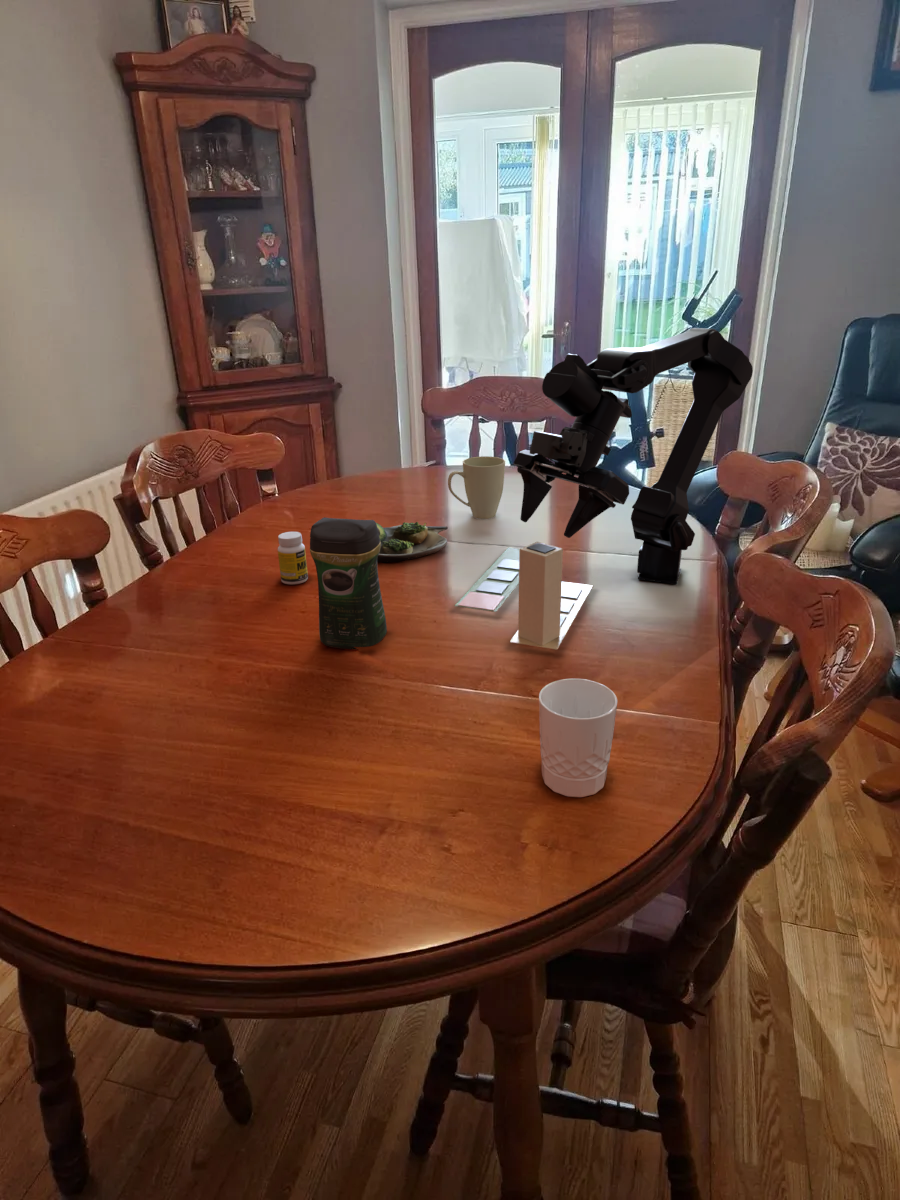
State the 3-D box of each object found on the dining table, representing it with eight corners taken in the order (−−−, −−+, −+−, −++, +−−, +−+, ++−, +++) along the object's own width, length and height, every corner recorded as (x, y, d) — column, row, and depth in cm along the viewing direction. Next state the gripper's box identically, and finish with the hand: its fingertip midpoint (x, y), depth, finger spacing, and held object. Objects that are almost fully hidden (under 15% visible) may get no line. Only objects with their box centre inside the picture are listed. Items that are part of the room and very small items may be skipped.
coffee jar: (393, 630, 114) (386, 513, 106) (375, 655, 107) (366, 531, 99) (333, 625, 116) (322, 509, 109) (312, 648, 109) (299, 526, 102)
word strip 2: (552, 585, 128) (552, 579, 128) (593, 590, 126) (593, 584, 125) (509, 648, 108) (509, 640, 107) (557, 655, 105) (557, 648, 105)
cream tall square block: (535, 627, 112) (537, 540, 106) (559, 636, 109) (563, 547, 103) (517, 636, 109) (519, 547, 103) (542, 646, 106) (545, 555, 100)
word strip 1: (508, 552, 143) (508, 546, 143) (543, 556, 141) (544, 550, 140) (454, 611, 120) (454, 604, 119) (496, 617, 117) (496, 610, 117)
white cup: (530, 758, 84) (532, 680, 80) (600, 753, 84) (605, 675, 80) (544, 804, 77) (547, 721, 73) (620, 798, 77) (627, 716, 73)
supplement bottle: (302, 586, 131) (297, 540, 127) (276, 584, 131) (271, 539, 128) (312, 575, 135) (307, 531, 131) (287, 574, 136) (282, 530, 132)
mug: (475, 506, 170) (474, 454, 165) (512, 513, 165) (513, 459, 160) (446, 519, 162) (445, 464, 157) (485, 527, 157) (484, 470, 152)
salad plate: (430, 524, 159) (430, 503, 158) (470, 550, 145) (469, 527, 143) (343, 539, 152) (342, 518, 150) (375, 568, 137) (374, 544, 135)
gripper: (514, 397, 111) (468, 493, 111) (609, 414, 97) (556, 524, 98) (558, 431, 118) (514, 521, 119) (652, 451, 104) (603, 553, 105)
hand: (544, 528), depth 110 cm, fingers open, 9 cm apart
